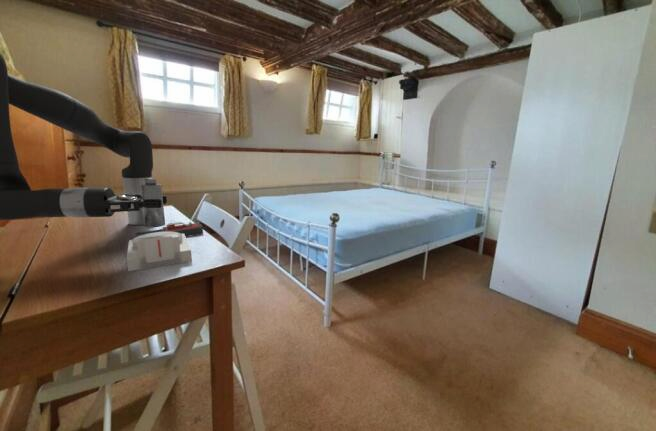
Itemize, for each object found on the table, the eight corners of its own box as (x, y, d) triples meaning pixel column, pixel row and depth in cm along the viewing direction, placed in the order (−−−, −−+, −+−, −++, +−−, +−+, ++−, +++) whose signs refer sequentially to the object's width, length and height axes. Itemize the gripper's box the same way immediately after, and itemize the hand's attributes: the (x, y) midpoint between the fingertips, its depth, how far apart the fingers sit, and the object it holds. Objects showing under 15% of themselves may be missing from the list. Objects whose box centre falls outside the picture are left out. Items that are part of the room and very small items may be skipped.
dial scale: (130, 250, 83) (127, 224, 81) (184, 242, 90) (182, 219, 89) (128, 272, 70) (123, 242, 68) (192, 261, 77) (189, 234, 75)
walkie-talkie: (201, 228, 107) (136, 237, 96) (200, 216, 106) (134, 224, 94) (207, 234, 100) (138, 245, 89) (206, 222, 99) (136, 231, 88)
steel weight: (144, 223, 80) (139, 178, 77) (164, 222, 83) (160, 177, 80) (144, 228, 76) (139, 180, 73) (165, 226, 79) (161, 179, 76)
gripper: (71, 192, 67) (155, 191, 71) (99, 184, 80) (169, 184, 85) (76, 224, 68) (158, 221, 73) (103, 210, 82) (171, 209, 86)
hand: (163, 201), depth 79 cm, fingers closed on steel weight, 4 cm apart
